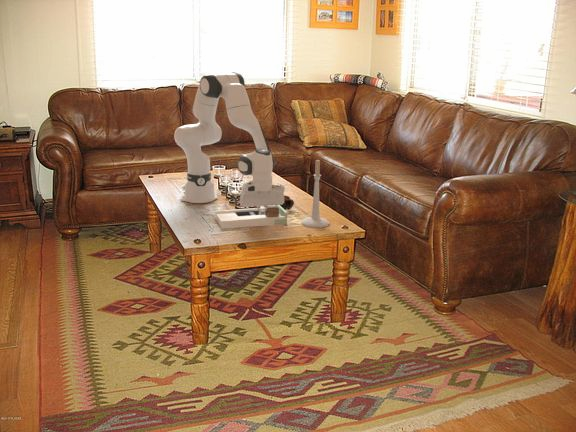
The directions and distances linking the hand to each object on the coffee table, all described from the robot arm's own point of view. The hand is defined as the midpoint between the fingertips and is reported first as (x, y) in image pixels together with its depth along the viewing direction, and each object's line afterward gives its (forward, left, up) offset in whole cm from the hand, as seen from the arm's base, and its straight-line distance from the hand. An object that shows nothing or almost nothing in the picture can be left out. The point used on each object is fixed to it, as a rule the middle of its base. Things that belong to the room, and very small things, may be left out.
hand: (262, 214), depth 282 cm
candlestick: (+6, +24, -4) cm, 25 cm away
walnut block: (0, +5, -1) cm, 5 cm away
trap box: (-4, -4, -4) cm, 7 cm away
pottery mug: (-18, +16, -4) cm, 24 cm away
